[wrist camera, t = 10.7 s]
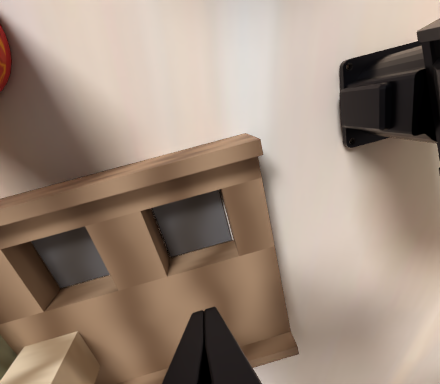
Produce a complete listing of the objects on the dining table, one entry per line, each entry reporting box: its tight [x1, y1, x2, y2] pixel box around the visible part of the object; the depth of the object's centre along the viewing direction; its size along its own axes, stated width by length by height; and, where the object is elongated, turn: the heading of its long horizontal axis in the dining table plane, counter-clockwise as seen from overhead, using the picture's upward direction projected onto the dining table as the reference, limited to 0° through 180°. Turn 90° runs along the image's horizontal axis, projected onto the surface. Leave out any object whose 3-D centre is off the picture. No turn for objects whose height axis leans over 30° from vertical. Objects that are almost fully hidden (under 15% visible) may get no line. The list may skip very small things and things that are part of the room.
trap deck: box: [0, 133, 299, 384], centre depth 18 cm, size 24×20×6 cm
